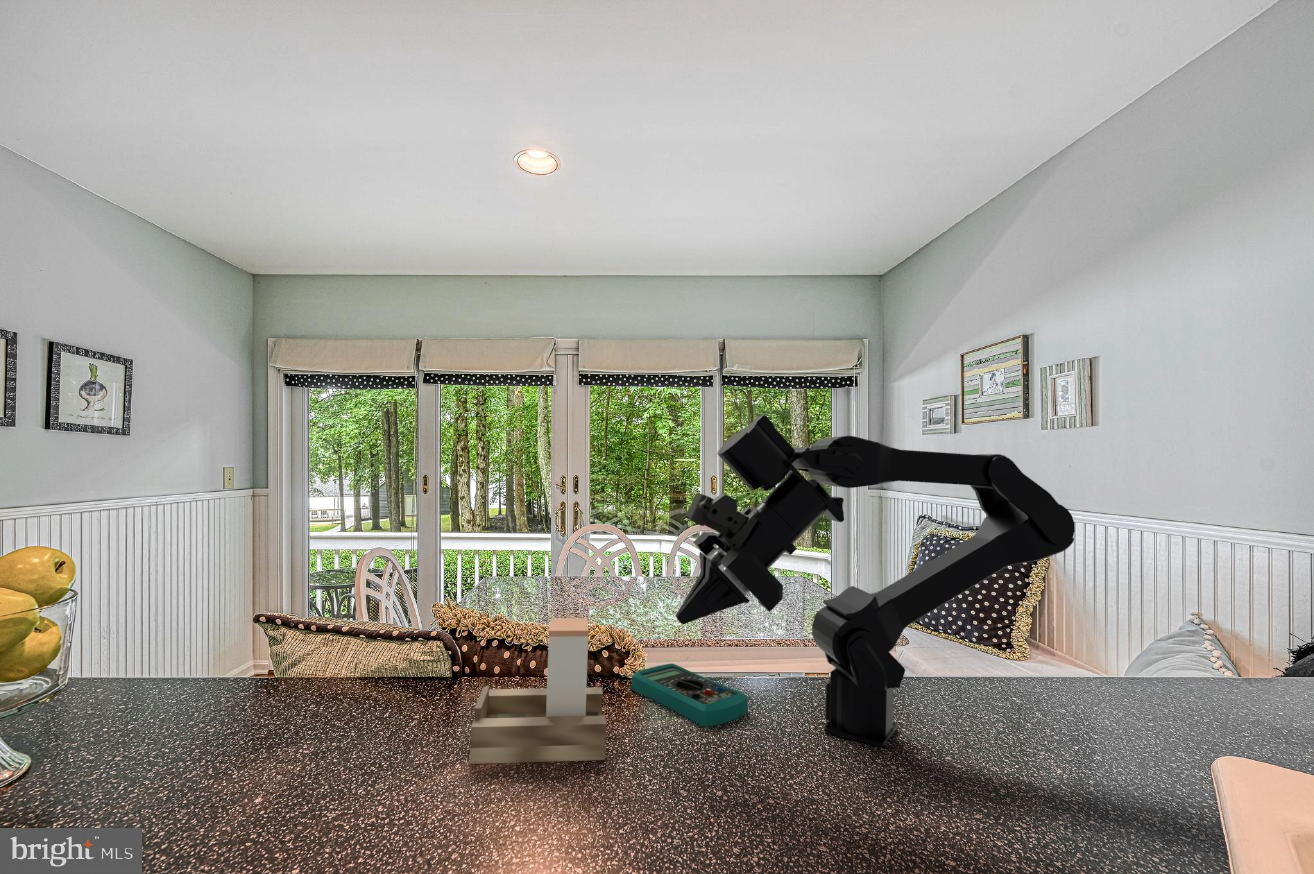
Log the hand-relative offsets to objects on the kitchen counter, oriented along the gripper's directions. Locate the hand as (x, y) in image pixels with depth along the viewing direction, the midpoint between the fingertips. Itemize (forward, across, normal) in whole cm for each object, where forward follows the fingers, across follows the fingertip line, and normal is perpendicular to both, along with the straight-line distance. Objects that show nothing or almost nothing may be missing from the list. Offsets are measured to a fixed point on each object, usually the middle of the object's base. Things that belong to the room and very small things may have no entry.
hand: (678, 620), depth 69 cm
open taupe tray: (+19, 0, -1) cm, 19 cm away
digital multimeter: (+7, -10, +11) cm, 17 cm away
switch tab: (+16, 0, -1) cm, 16 cm away
